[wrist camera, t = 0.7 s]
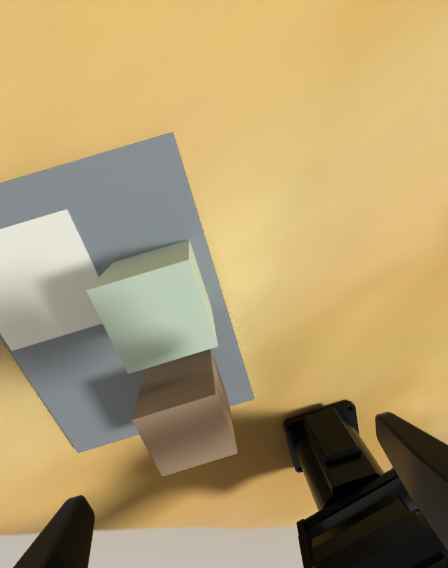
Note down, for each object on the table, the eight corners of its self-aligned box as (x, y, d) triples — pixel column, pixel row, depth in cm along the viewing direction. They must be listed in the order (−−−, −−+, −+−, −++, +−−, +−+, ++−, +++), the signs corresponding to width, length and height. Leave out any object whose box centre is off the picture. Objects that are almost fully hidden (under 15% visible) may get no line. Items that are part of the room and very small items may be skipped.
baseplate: (252, 393, 23) (254, 399, 23) (80, 446, 23) (77, 454, 22) (173, 133, 16) (172, 131, 15) (-77, 208, 16) (-89, 209, 15)
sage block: (211, 307, 19) (218, 346, 15) (143, 328, 19) (128, 373, 15) (189, 239, 18) (188, 259, 13) (113, 262, 18) (86, 290, 13)
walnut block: (227, 396, 22) (237, 453, 18) (168, 415, 22) (162, 476, 18) (210, 346, 21) (215, 394, 16) (145, 366, 20) (131, 419, 16)
